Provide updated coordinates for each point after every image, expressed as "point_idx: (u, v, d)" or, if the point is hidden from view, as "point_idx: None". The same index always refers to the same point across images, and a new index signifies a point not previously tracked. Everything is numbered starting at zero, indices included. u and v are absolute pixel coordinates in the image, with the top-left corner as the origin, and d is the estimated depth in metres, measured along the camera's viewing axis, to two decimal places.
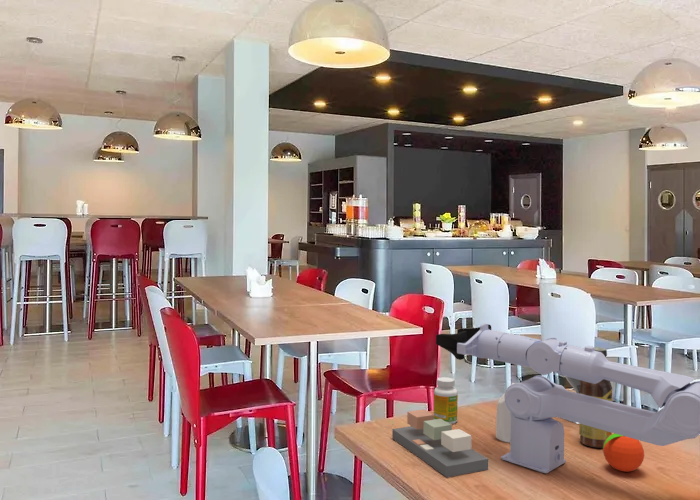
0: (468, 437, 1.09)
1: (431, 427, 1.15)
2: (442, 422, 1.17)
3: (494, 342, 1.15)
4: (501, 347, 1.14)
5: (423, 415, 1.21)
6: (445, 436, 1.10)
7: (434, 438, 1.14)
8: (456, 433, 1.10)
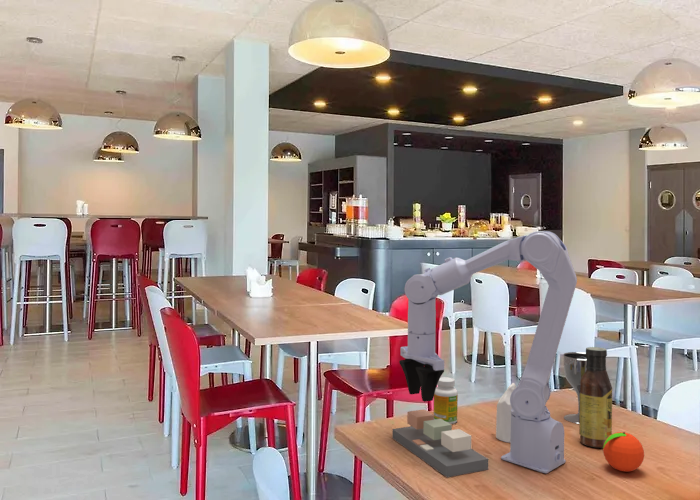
0: (468, 437, 1.09)
1: (431, 427, 1.15)
2: (442, 422, 1.17)
3: (422, 338, 1.19)
4: (414, 329, 1.19)
5: (423, 415, 1.21)
6: (445, 436, 1.10)
7: (434, 438, 1.14)
8: (456, 433, 1.10)
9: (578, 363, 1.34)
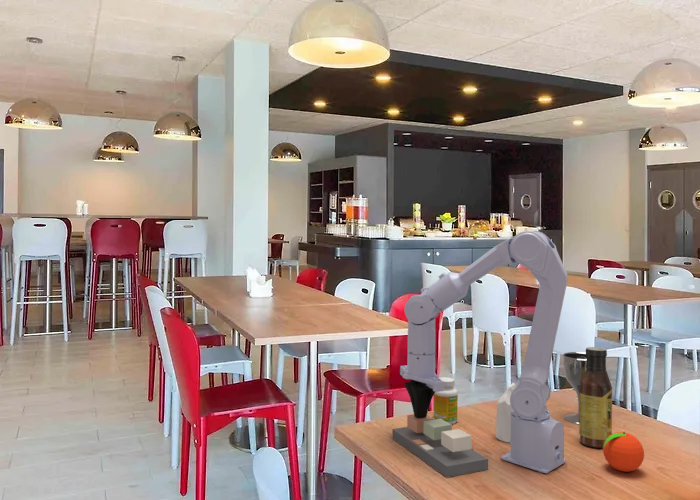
0: (468, 437, 1.09)
1: (431, 427, 1.15)
2: (442, 422, 1.17)
3: (422, 359, 1.19)
4: (414, 350, 1.20)
5: (423, 418, 1.21)
6: (445, 436, 1.10)
7: (434, 438, 1.14)
8: (456, 433, 1.10)
9: (578, 363, 1.34)
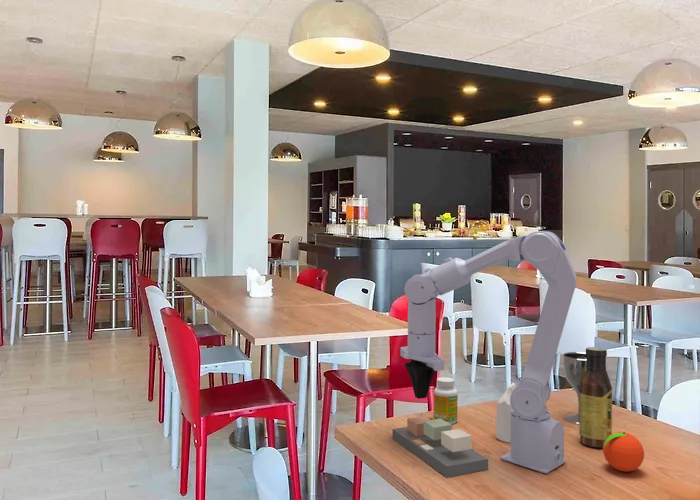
0: (468, 437, 1.09)
1: (431, 427, 1.15)
2: (442, 422, 1.17)
3: (422, 338, 1.19)
4: (414, 329, 1.19)
5: (423, 422, 1.21)
6: (445, 436, 1.10)
7: (434, 438, 1.14)
8: (456, 433, 1.10)
9: (578, 363, 1.34)
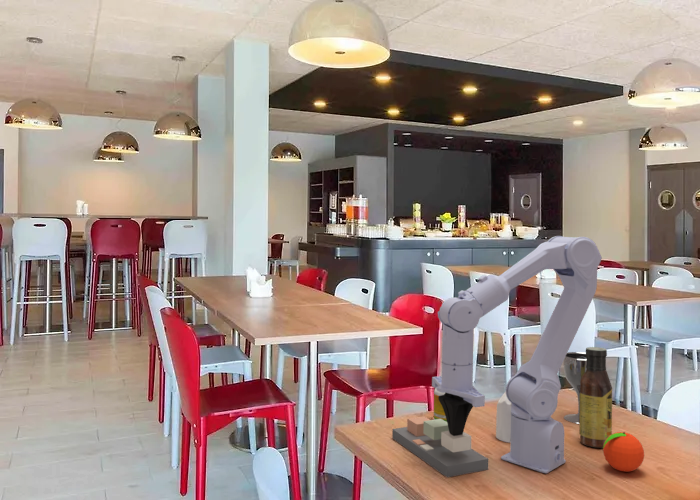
0: (468, 437, 1.09)
1: (431, 427, 1.15)
2: (442, 422, 1.17)
3: (459, 370, 1.07)
4: (460, 361, 1.07)
5: (423, 422, 1.21)
6: (445, 436, 1.10)
7: (434, 438, 1.14)
8: None
9: (578, 363, 1.34)
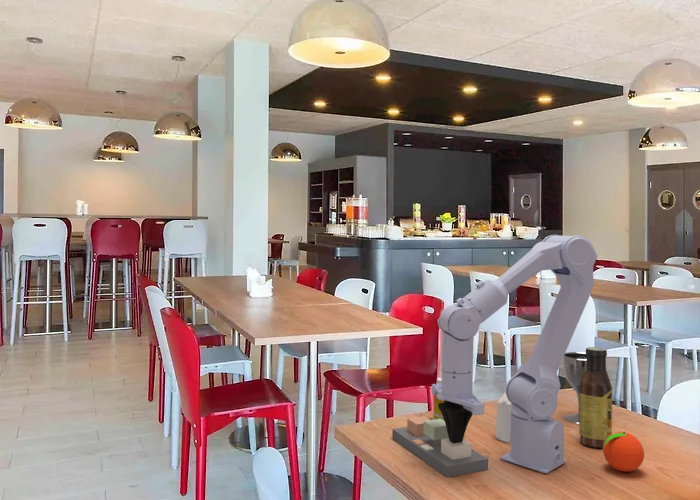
0: (468, 445, 1.09)
1: (431, 427, 1.15)
2: (442, 422, 1.17)
3: (458, 378, 1.07)
4: (459, 369, 1.07)
5: (423, 422, 1.21)
6: (445, 444, 1.10)
7: (434, 438, 1.14)
8: None
9: (578, 363, 1.34)
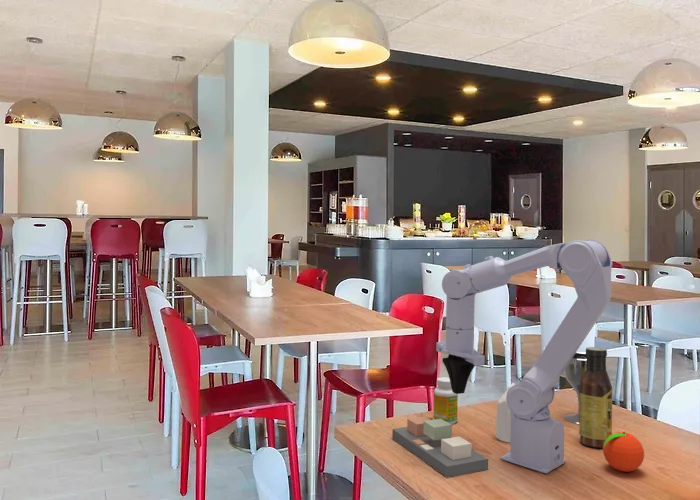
0: (468, 445, 1.09)
1: (431, 427, 1.15)
2: (442, 422, 1.17)
3: (461, 333, 1.19)
4: (451, 324, 1.20)
5: (423, 422, 1.21)
6: (445, 444, 1.10)
7: (434, 438, 1.14)
8: (456, 441, 1.11)
9: (578, 363, 1.34)
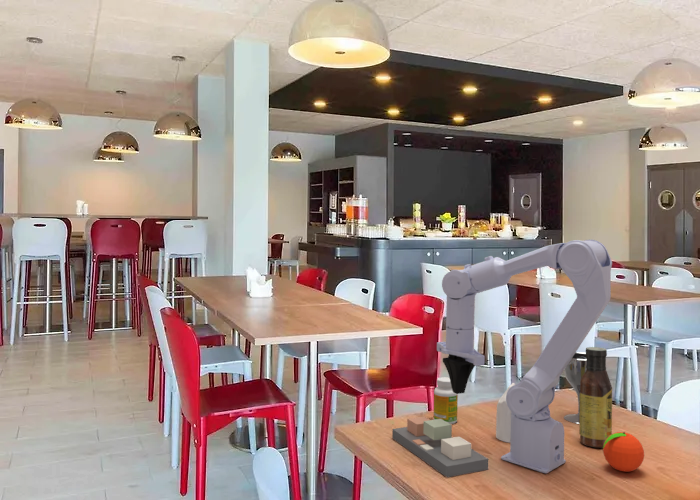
0: (468, 445, 1.09)
1: (431, 427, 1.15)
2: (442, 422, 1.17)
3: (461, 333, 1.19)
4: (451, 324, 1.20)
5: (423, 422, 1.21)
6: (445, 444, 1.10)
7: (434, 438, 1.14)
8: (456, 441, 1.11)
9: (578, 363, 1.34)
